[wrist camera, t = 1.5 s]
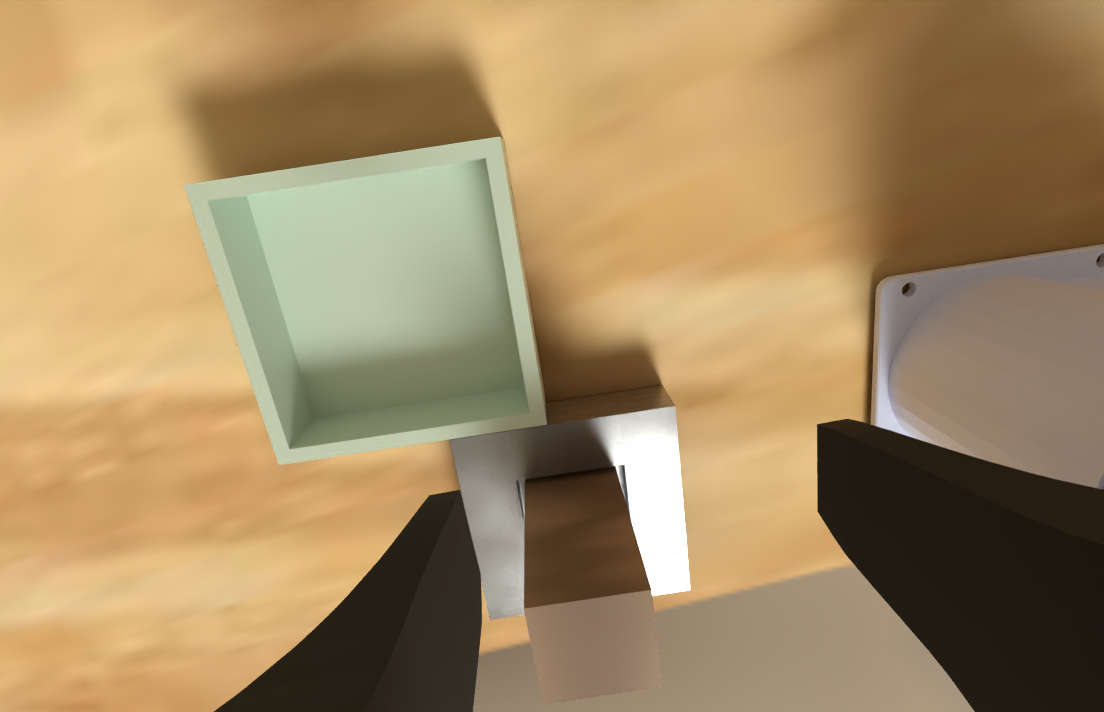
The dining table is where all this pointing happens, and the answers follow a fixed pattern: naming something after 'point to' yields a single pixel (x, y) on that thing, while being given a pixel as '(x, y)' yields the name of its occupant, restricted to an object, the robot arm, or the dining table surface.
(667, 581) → the socket block
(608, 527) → the strut
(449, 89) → the dining table surface
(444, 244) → the bin
